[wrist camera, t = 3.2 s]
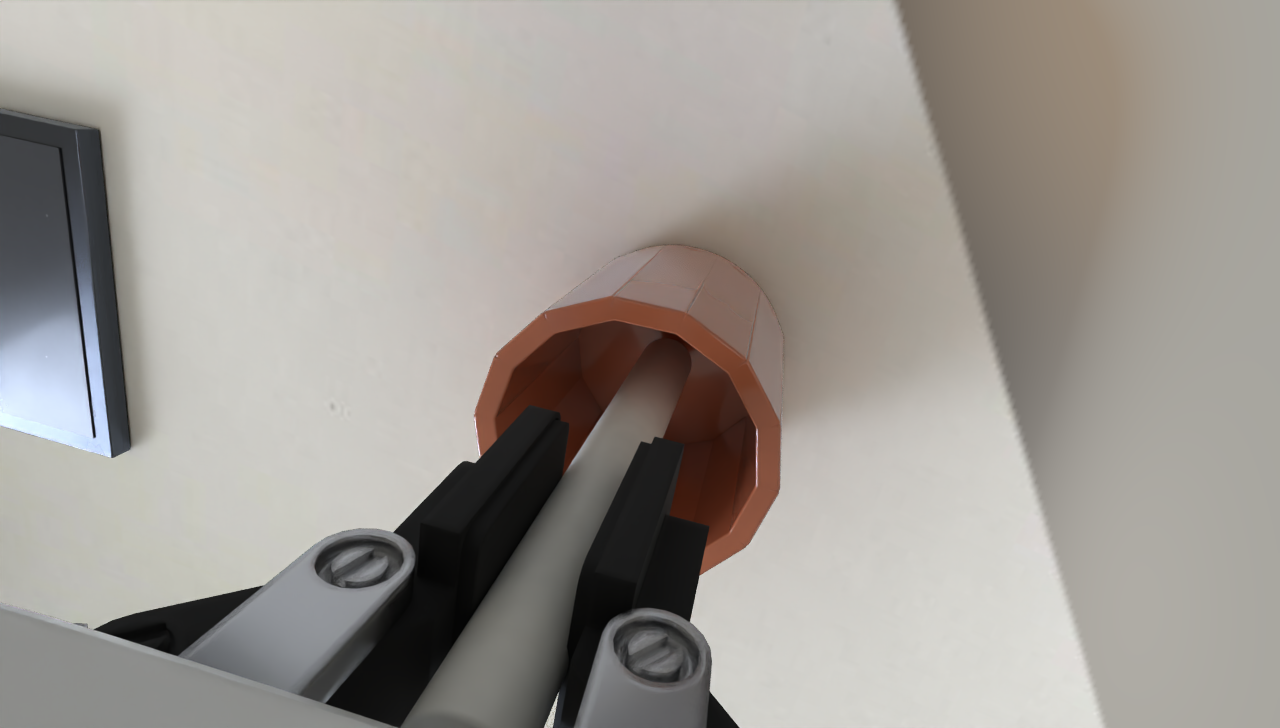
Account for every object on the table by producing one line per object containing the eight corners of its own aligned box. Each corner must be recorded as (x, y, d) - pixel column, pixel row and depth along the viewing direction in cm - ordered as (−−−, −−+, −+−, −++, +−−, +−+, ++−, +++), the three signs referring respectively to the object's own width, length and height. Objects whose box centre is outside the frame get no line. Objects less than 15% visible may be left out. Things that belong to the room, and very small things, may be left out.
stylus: (653, 322, 20) (396, 696, 7) (700, 333, 20) (525, 738, 7) (645, 367, 20) (390, 792, 8) (691, 378, 20) (512, 832, 7)
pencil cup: (583, 223, 20) (487, 267, 14) (811, 271, 20) (821, 343, 13) (555, 422, 23) (460, 539, 16) (757, 473, 22) (743, 619, 15)
